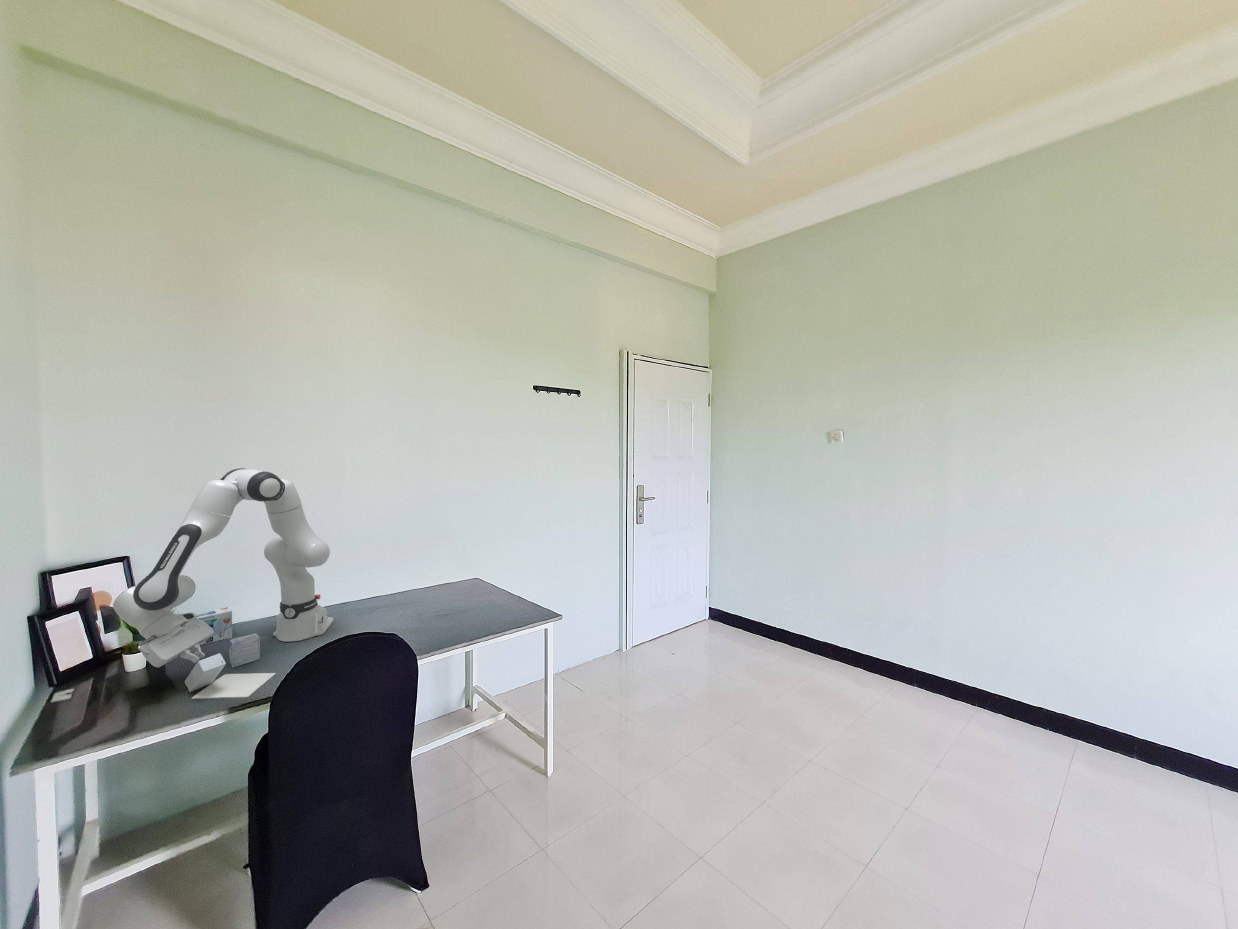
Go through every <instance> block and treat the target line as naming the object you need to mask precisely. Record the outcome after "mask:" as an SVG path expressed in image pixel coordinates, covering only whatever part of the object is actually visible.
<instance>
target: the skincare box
mask: <svg viewBox="0 0 1238 929" xmlns="http://www.w3.org/2000/svg"><path fill="white" fill-rule="evenodd" d="M226 665H227V662H226V661H225V659H224V657H223V655H222V654H221V653H220V652H219V653H217V654H216V653H215V654H214V655H211V656H209V657H206V658H205V657H204V658H202V659H200V660H199V661H197V662H196V664H195V666H194V667H193V668H192V669H191V671H190V673H189V674H188V675H187V677H186V678H185V680H184V683H185V684H184V685H186V687H187V689H188V691H189V693H192V692H194V691H196V690H199V689H202V688H204V687H207V686H209V685H210V684H212V683H213V682H215V681H216V680H217V677H218V676H219V674H220V673H221V671H222V670H223V669H224V667H225V666H226Z"/></svg>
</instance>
